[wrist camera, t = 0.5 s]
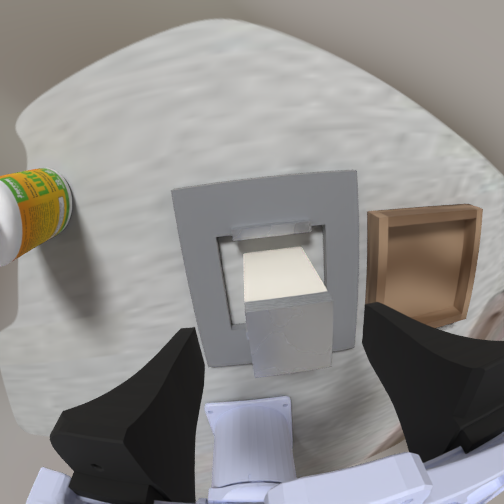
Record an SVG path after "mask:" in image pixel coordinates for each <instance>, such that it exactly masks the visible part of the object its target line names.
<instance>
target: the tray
mask: <svg viewBox="0 0 504 504" xmlns="http://www.w3.org/2000/svg"><path fill="white" fill-rule="evenodd" d="M482 212H483V209H481V208H479V207H476V206H473V205H470V204H457V205H442V206H428V207H415V208H402V209H390V210H379V211H367V222H368V243H367V280H366V299H365V304H368V303H374V302H380V303H382V304H384V305H386V306H388V307H391V308H393V309H394V310H396V311H398V312H400V313H402V314H404V315H406V316H408V317H410V318H413V319H415V320H417V321H419V322H421V323H424V324H426V325H428V326H431V327H433V328H437V327H441V326H444V325H447V324H451V323H454V322H457V321H460V320H463V319H466V316H467V312H468V307H469V303H470V298H471V294H472V289H473V283H474V278H475V272H476V266H477V259H478V252H479V244H480V235H481V225H482Z"/></svg>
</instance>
